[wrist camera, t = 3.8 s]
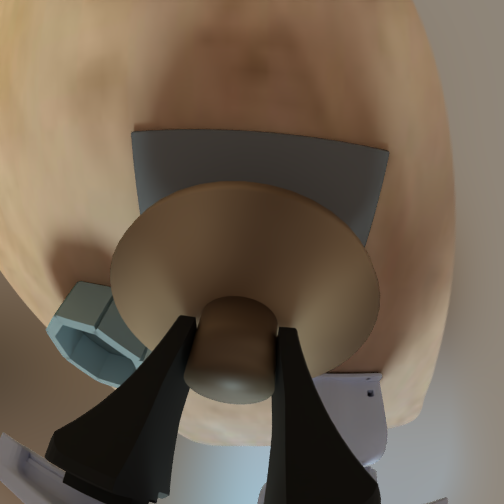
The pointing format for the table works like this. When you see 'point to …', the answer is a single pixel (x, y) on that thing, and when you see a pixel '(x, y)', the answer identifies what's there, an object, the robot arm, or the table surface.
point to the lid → (245, 283)
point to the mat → (263, 167)
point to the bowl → (96, 335)
